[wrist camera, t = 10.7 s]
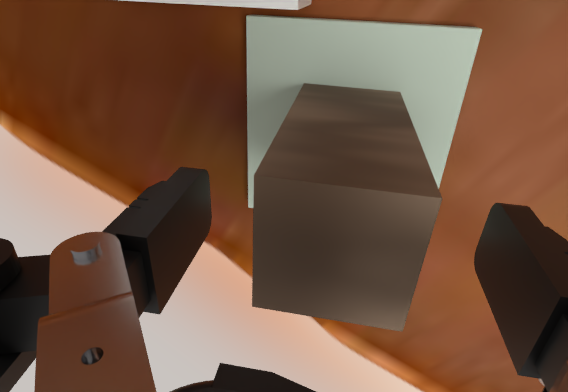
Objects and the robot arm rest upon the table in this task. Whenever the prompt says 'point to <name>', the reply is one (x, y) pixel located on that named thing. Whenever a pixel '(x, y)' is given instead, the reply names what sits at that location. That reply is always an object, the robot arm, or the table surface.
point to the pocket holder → (242, 3)
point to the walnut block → (343, 209)
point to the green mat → (357, 73)
